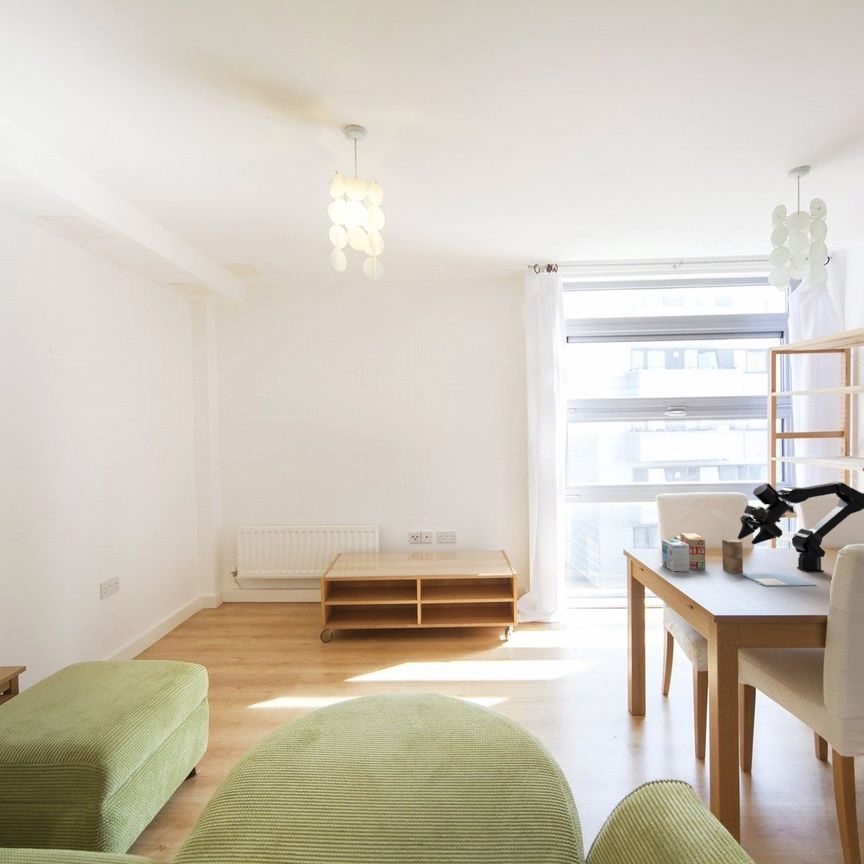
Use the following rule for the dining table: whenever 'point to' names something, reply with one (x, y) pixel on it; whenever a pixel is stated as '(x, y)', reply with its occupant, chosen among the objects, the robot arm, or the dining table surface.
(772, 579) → the board
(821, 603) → the dining table surface
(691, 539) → the stack of blocks
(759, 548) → the dining table surface
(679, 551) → the light bulb box
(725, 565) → the walnut column
